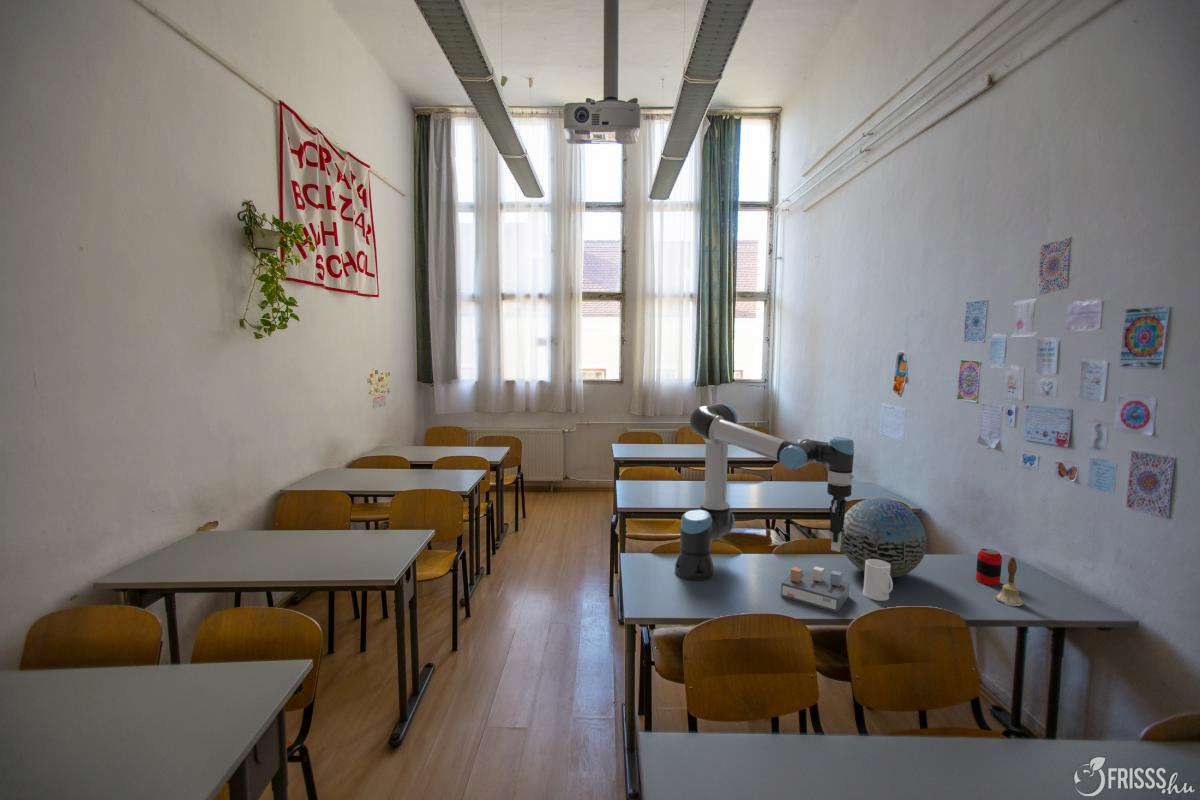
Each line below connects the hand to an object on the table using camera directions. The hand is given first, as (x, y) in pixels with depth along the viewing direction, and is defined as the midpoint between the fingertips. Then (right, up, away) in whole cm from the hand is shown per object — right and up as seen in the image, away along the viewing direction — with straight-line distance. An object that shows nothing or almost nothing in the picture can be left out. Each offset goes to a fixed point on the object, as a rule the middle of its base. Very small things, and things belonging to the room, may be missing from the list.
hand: (835, 550), depth 192 cm
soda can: (+66, -18, +20) cm, 71 cm away
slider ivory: (-3, -12, +7) cm, 15 cm away
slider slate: (+2, -13, +4) cm, 13 cm away
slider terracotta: (-11, -12, +6) cm, 18 cm away
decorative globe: (+28, -16, +25) cm, 41 cm away
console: (-5, -18, +6) cm, 19 cm away
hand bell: (+63, -19, +4) cm, 66 cm away
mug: (+17, -18, +6) cm, 26 cm away
